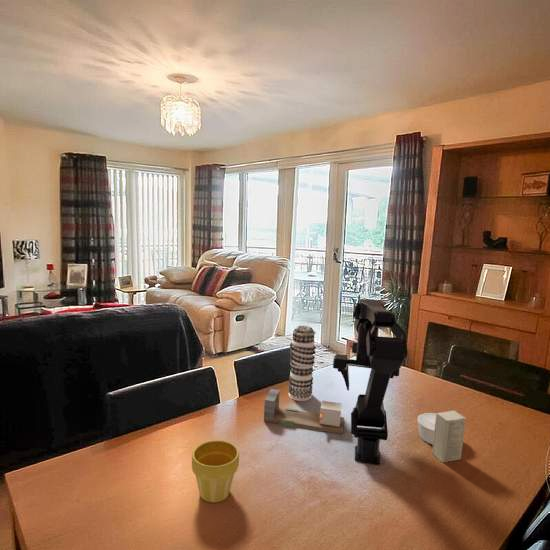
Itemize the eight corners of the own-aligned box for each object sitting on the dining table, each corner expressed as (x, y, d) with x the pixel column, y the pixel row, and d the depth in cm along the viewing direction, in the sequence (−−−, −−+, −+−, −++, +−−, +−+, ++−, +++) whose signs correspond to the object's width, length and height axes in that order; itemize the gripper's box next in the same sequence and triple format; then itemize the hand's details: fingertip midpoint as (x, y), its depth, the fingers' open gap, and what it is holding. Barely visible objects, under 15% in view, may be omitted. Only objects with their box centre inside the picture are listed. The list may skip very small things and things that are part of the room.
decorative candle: (284, 398, 133) (287, 329, 129) (290, 388, 142) (294, 322, 138) (309, 403, 130) (314, 332, 127) (315, 392, 139) (319, 325, 136)
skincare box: (449, 450, 107) (454, 409, 105) (461, 460, 102) (467, 417, 101) (430, 453, 105) (435, 412, 103) (442, 463, 101) (447, 420, 99)
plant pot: (216, 471, 93) (217, 433, 92) (247, 491, 87) (248, 451, 86) (181, 493, 85) (182, 452, 84) (212, 517, 79) (213, 473, 78)
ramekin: (413, 442, 110) (415, 425, 109) (418, 424, 120) (420, 409, 119) (455, 454, 105) (458, 436, 104) (457, 435, 115) (459, 418, 114)
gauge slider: (339, 431, 111) (340, 415, 110) (318, 428, 112) (319, 412, 112) (340, 418, 119) (341, 403, 118) (321, 415, 120) (322, 400, 119)
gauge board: (342, 435, 112) (344, 412, 111) (263, 422, 117) (264, 400, 116) (343, 420, 120) (345, 399, 119) (269, 409, 125) (270, 388, 124)
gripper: (398, 337, 118) (393, 386, 120) (337, 331, 122) (334, 378, 124) (401, 348, 107) (396, 401, 109) (334, 340, 111) (331, 392, 113)
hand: (363, 392), depth 114 cm, fingers open, 9 cm apart
